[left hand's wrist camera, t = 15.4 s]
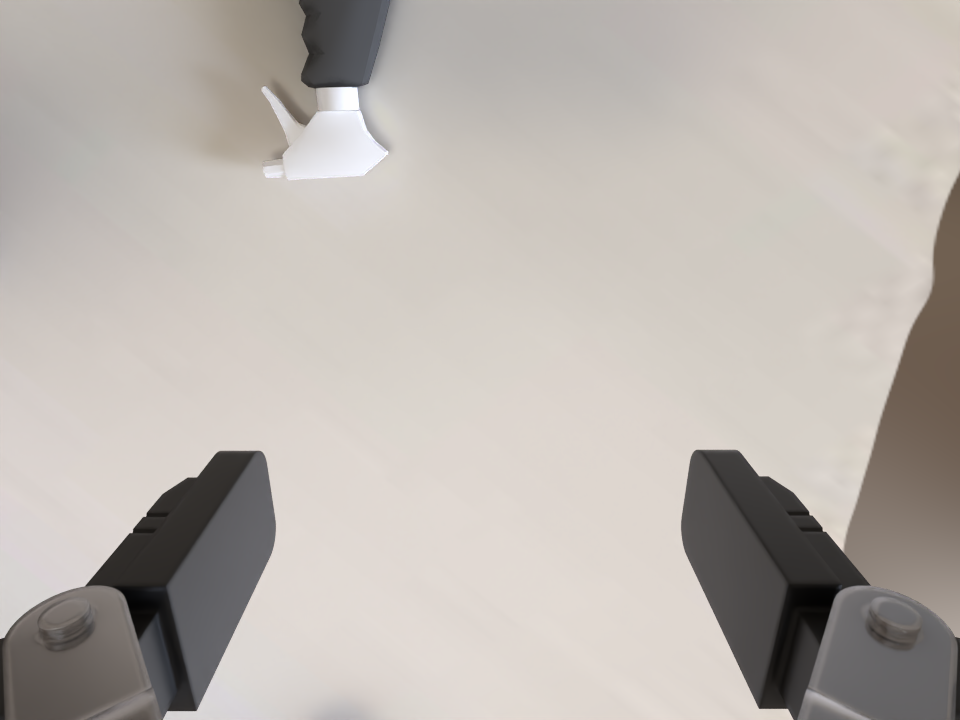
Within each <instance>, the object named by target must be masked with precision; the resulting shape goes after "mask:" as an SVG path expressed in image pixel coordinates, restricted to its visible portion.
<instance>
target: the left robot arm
mask: <svg viewBox="0 0 960 720" xmlns="http://www.w3.org/2000/svg"><path fill="white" fill-rule="evenodd" d="M681 532H682V541H683V546H684V549H685V552H686V555H687V557H688V559H689V561H690V563H691V565H692V568H693V570H694V572H695V574H696V576H697V578H698V580H699V582H700V585H701V587H702V589H703V591H704V593H705V595H706V597H707V599H708V601H709V604H710V606H711V608H712V610H713V612H714V614H715V616H716V618H717V621H718V623H719V625H720V627H721V629H722V631H723V633H724V635H725V638H726V640H727V642H728V644H729V646H730V648H731V650H732V652H733V654H734V657H735V659H736V661H737V663H738V665H739V667H740V669H741V671H742V674H743V676H744V678H745V680H746V682H747V684H748V686H749V688H750V691H751V693H752V695H753V697H754V699H755V701H756V703H757V705H758V708H759V709H788V710H789V712H790V714H791V715H792V717H793V719H794V720H960V638H957V637H955V636H954V634H953V633H952V631H951V629H950V628H949V627H948V626H947V624H946V623H945V622H944V621H943V620H942V619H941V618H940V617H939V616H937V615H936V614H935V613H934V612H932V611H931V610H930V609H928V608H927V607H925V606H924V605H922V604H921V603H919V602H917V601H915V600H913V599H911V598H909V597H907V596H905V595H902V594H900V593H897V592H894V591H891V590H888V589H884V588H880V587H874V586H871V585H870V584H869V583H868V582H867V580H866V579H865V578H864V577H863V576H862V574H861V573H860V572H859V571H858V570H857V568H856V567H855V566H854V565H853V564H852V563H851V561H850V560H849V559H848V558H847V556H846V555H845V554H844V553H843V552H842V550H841V549H840V548H839V547H838V546H837V544H836V543H835V542H834V541H833V540H832V538H831V537H830V536H829V535H828V534H827V532H823V530H822V527H821V525H820V524H819V523H818V522H817V521H816V519H815V518H814V517H813V516H810V515H809V511H808V510H807V509H806V507H805V506H804V505H803V504H802V503H801V501H800V500H799V499H798V498H797V497H796V495H795V494H794V493H793V492H791V491H790V490H788V489H787V488H785V487H784V486H782V485H781V484H779V483H778V482H776V481H775V480H773V479H771V478H770V477H759V476H758V475H757V473H756V472H755V471H754V469H753V468H752V467H751V466H750V464H749V463H748V462H747V460H746V459H745V458H744V456H743V455H742V454H741V453H740V452H739V451H738V450H695V451H694V452H693V454H692V456H691V460H690V466H689V472H688V479H687V486H686V493H685V499H684V506H683V513H682V521H681ZM275 533H276V522H275V515H274V508H273V501H272V495H271V488H270V481H269V475H268V468H267V462H266V458H265V456H264V454H263V452H261V451H219V452H217V453H216V454H215V456H214V457H213V458H212V459H211V461H210V462H209V463H208V464H207V466H206V467H205V468H204V470H203V471H202V472H201V473H200V475H199V476H198V477H197V478H187V479H185V480H184V481H182V482H180V483H179V484H177V485H176V486H174V487H173V488H171V489H170V490H168V491H167V492H165V493H164V494H162V495H161V497H160V498H159V499H158V500H157V501H156V503H155V504H154V505H153V506H152V507H151V509H150V510H149V511H148V512H147V516H146V517H143V518H142V519H141V520H140V522H139V523H138V524H137V525H136V526H135V528H134V529H133V533H130V534H129V535H128V536H127V537H126V538H125V539H124V541H123V542H122V543H121V544H120V545H119V547H118V548H117V549H116V550H115V551H114V553H113V554H112V555H111V556H110V557H109V558H108V560H107V561H106V562H105V563H104V564H103V566H102V567H101V568H100V569H99V570H98V572H97V573H96V574H95V575H94V576H93V577H92V579H91V580H90V581H89V582H88V583H87V585H86V586H85V587H80V588H76V589H72V590H69V591H66V592H62V593H60V594H58V595H55V596H53V597H51V598H49V599H47V600H45V601H43V602H41V603H39V604H38V605H36V606H35V607H33V608H32V609H30V610H29V611H28V612H26V613H25V614H24V615H23V616H21V617H20V618H19V619H18V620H17V621H16V622H15V623H14V624H13V626H12V627H11V628H10V629H9V631H8V633H7V634H6V636H5V638H2V639H0V720H163V718H164V716H165V714H166V712H167V711H197V709H198V707H199V705H200V702H201V700H202V698H203V696H204V694H205V692H206V690H207V688H208V686H209V684H210V681H211V679H212V677H213V675H214V673H215V671H216V669H217V667H218V665H219V663H220V661H221V658H222V656H223V654H224V652H225V650H226V648H227V646H228V644H229V642H230V640H231V638H232V635H233V633H234V631H235V629H236V627H237V625H238V623H239V621H240V619H241V617H242V614H243V612H244V610H245V608H246V606H247V604H248V602H249V600H250V598H251V596H252V594H253V591H254V589H255V587H256V585H257V583H258V581H259V579H260V577H261V575H262V573H263V570H264V568H265V566H266V564H267V562H268V560H269V558H270V556H271V553H272V550H273V546H274V541H275Z"/></svg>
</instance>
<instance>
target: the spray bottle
mask: <svg viewBox="0 0 960 720" xmlns="http://www.w3.org/2000/svg"><path fill="white" fill-rule="evenodd" d="M389 3H390V0H299V4H300V6H301V8H302V10H303V11H304V13H305V15H306V19H305V23H304V27H303V31H302V37H303V40H304V42H305V45H306V47H307V49H308V52H309V55H308V58H307V61H306V63H305V66H304V68H303V71H302V74H301V81H302V82H303V83H305V84H306V85H307V86H308V87H311V88H315V89H316V96H317V104H318V111H321V112H316V114H315V115H314V116H313V118H312V119H311V121H310V122H309V123H308V125H307V126H306V125H304V124H301V123H299V122H297V120H296V119H295V118H294V117H293V116H292V114H291V113H290V112H289V111H288V109H287V108H286V107H285V106H284V105H283V103H282V102H281V101H280V100H279V99H278V98H277V97H276V96H275V95H274V94H273V92H272V91H271V90H270V89H269V88H268V87H267V86H264V87H263V88H262V89H261V90H262V92H263V93H264V95H265V96H266V98H267V99H268V100H269V102H270V104H271V106H272V108H273V109H274V111H275V113H276V115H277V117H278V119H279V121H280V123H281V125H282V127H283V129H284V132H285V135H286V139H287V142H288V145H289V146H290V147H289V148H288V149H287V150H286V151H285V152H284V153H283V159H277V160H270V161H264V162H263V171H264V174H265V176H266V178H275V177H287V180H297V179H314V178H331V177H348V176H362V175H364V174H366V173H367V172H368V171H369V170H370V169H371V168H373V167H374V166H375V165H376V164H377V163H378V162H379V161H381V160H382V159H383V158H384V157H385V156H386V155H387V154H388V151H387V150H386V149H385V148H383V147H382V146H381V145H380V144H378V143H377V142H376V141H375V140H374V139H373V137H372V136H371V135H370V133H369V132H368V130H367V128H366V125H365V122H364V119H363V116H362V113H361V110H359V102H358V90H357V87H360V86H363V85H365V84H368V82H369V79H370V76H371V72H372V69H373V65H374V62H375V59H376V55H377V52H378V48H379V45H380V41H381V37H382V32H383V28H384V24H385V20H386V16H387V12H388V7H389ZM344 110H359V111H344Z"/></svg>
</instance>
